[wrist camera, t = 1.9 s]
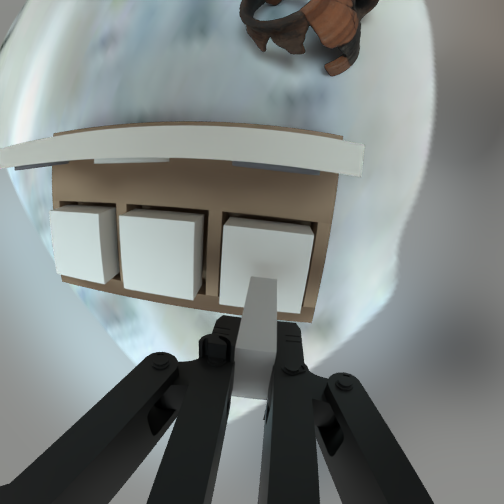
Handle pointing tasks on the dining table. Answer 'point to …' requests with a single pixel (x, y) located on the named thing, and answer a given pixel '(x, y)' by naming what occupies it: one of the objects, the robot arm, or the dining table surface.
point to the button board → (204, 207)
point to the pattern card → (193, 148)
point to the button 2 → (265, 260)
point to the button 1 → (85, 242)
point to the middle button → (162, 252)
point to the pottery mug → (320, 19)
